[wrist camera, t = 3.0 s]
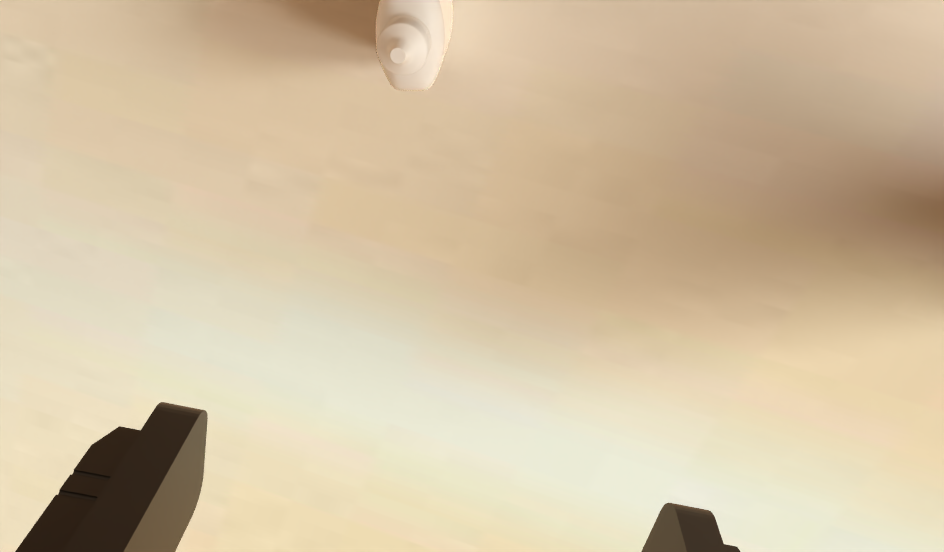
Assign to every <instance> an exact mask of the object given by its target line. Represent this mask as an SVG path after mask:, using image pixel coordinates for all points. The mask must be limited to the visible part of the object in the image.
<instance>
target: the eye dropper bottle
mask: <svg viewBox="0 0 944 552" xmlns="http://www.w3.org/2000/svg"><path fill="white" fill-rule="evenodd" d="M452 24H453V5H452V0H380V2H379V6H378V11H377V17H376V45H377V46H376V50H377V52H376V53H377V56H378V58H379V61H380V63H381V65H382V68H383V70H384V73H385V75H386V77H387V79H388V81H389V82H390V84H391V85H392V86H393V87H394V88H395V89H398V90H404V91H424V90H427V89H429V88H430V87H431V86H432V85H433V83H434V82H435V80H436V77H437V75H438V73H439V70H440V68H441V65H442V62H443V59H444V56H445V53H446V50H447V47H448V44H449V41H450V37H451V31H452Z"/></svg>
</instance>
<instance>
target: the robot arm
mask: <svg viewBox="0 0 944 552" xmlns="http://www.w3.org/2000/svg"><path fill="white" fill-rule="evenodd" d="M206 432H207V412H206V411H205V410H200V409H195V408H190V407H185V406H179V405H174V404H169V403H164V402H161V403H159V404H158V405H157V406H156V408H155V409H154V411H153V412H152V414H151V415H150V417H149V419H148V420H147V422H146V423H145V425H144V426H143V428H142V429H141V431H140V430H135V429H130V428H125V427H120V426H119V427H118V428H116V429H115V430H113V431H112V432H110V433H109V434H108V435H106V436H105V437H103V438H102V439H100V440H99V441H97V442H96V443H94V444H93V445H91V447H90V448H89V449H88V451H87V452H86V454H85V455H84V456H83V458H82V459H81V461H80V462H79V463H78V465H77V466H76V468H75V469H74V472H73V474H72V475H70V476H69V477H68V479H67V480H66V482H65V483H64V484H63V486H62V487H61V489H60V491H59V494H58V495H56V496H55V497H54V498H53V500H52V501H51V503H50V504H49V505H48V507H47V508H46V510H45V511H44V512H43V514H42V515H41V517H40V518H39V519H38V521H37V522H36V524H35V525H34V526H33V528H32V529H31V531H30V532H29V533H28V535H27V536H26V537H25V539H24V540H23V542H22V543H21V544H20V546H19V547H18V549H17V550H16V551H15V552H175V551H176V548H177V546H178V544H179V542H180V540H181V538H182V536H183V534H184V532H185V530H186V528H187V526H188V523H189V521H190V519H191V517H192V515H193V513H194V510H195V508H196V505H197V502H198V499H199V495H200V491H201V487H202V482H203V473H204V459H205V446H206ZM642 552H740V550H739V549H738V548H737V547H735V546H730V545H725V544H723V541H722V538H721V535H720V532H719V529H718V526H717V523H716V520H715V517H714V515H713V514H712V512H711V511H709V510H704V509H699V508H694V507H688V506H683V505H678V504H673V503H666V504H665V505H664V506H663V508H662V509H661V511H660V513H659V515H658V517H657V520H656V522H655V524H654V526H653V528H652V530H651V532H650V535H649V537H648V539H647V541H646V543H645V545H644V547H643V550H642Z"/></svg>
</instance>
